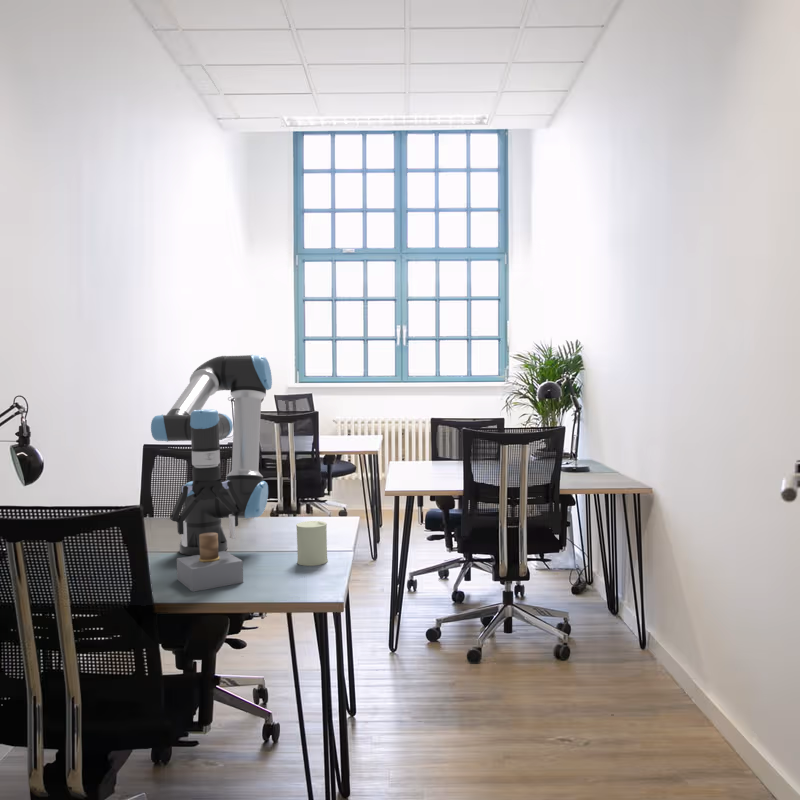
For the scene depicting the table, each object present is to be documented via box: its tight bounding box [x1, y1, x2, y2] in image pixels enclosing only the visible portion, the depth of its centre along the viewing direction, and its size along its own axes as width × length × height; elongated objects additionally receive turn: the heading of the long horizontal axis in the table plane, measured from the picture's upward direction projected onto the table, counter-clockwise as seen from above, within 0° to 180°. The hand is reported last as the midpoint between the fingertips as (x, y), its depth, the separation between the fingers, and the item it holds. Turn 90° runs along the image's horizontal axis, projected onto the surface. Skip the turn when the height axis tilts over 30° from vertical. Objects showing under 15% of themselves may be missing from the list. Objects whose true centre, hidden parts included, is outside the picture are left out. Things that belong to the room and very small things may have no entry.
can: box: [296, 520, 329, 567], centre depth 222 cm, size 9×9×12 cm
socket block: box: [176, 550, 244, 593], centre depth 204 cm, size 14×14×6 cm
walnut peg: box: [199, 533, 219, 563], centre depth 204 cm, size 5×5×13 cm
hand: (208, 541), depth 204 cm, fingers open, 13 cm apart
